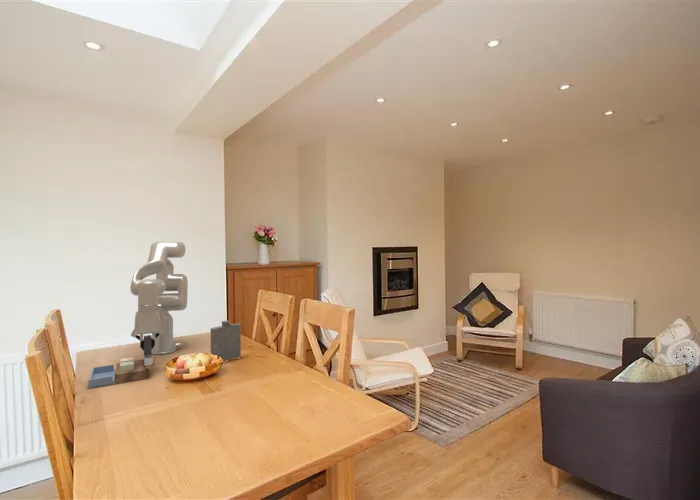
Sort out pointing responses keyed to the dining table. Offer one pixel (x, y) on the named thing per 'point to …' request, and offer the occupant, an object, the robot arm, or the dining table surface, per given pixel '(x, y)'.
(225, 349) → the hip flask
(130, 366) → the sage tile
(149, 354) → the scraper
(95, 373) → the slate blue box
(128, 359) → the cream tile
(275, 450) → the dining table surface
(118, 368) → the walnut board
